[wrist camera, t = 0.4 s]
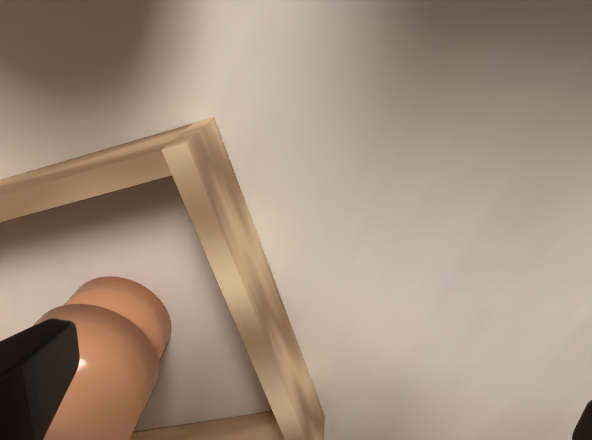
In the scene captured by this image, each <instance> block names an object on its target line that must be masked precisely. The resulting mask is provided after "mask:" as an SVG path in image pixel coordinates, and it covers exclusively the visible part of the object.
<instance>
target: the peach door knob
mask: <svg viewBox="0 0 592 440" xmlns="http://www.w3.org/2000/svg"><path fill="white" fill-rule="evenodd" d="M51 318H56V319H63V320H70V321H72V322H74V323H75V325H76V328H77V336H78V345H79V354H80V361H79V366H78V369H77V371H76V374H75V376H74V378H73V380H72V382H71V384H70V386H69V388H68V390H67V392H66V394H65V396H64V398H63V400H62V402H61V404H60V406H59V408H58V410H57V412H56V414H55V416H54V419H53V421H52V423H51V425H50V427H49V429H48V431H47V433H46V435H45V437H44V439H43V440H129V439H130V437H131V435H132V433H133V431H134V429H135V427H136V425H137V423H138V421H139V418H140V416H141V414H142V412H143V410H144V408H145V406H146V404H147V402H148V400H149V398H150V396H151V394H152V391H153V389H154V387H155V385H156V383H157V381H158V377H159V359H160V357H161V355H162V353H163V351H164V349H165V347H166V345H167V343H168V341H169V339H170V336H171V320H170V316H169V314H168V312H167V310H166V308H165V306H164V305H163V303H162V302H161V301H160V299H159V298H158V297H157V296H156V295H155V294H153V293H152V292H151V291H150V290H148V289H147V288H146V287H144V286H142V285H140V284H139V283H136V282H134V281H131V280H128V279H125V278H120V277H100V278H96V279H93V280H90V281H88V282H86V283H85V284H83V285H82V286H81V287H80V288H79V289H78V290H77V291H76V292H75V293H74V294H73V295H72V296H71V298H70V299H69V300H68V301H67V302H66V303H65V304H64V305H63V306H60V307H56V308H54V309H52V310H50V311H48V312H47V313H45V314H44V315H43V316H42V317H41V318H40V319H39V320H38V321H37V322H36V323H35V324H34V325H36V324H39V323H41V322H43V321H45V320H47V319H51ZM34 325H33V326H34Z"/></svg>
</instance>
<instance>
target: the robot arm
mask: <svg viewBox="0 0 592 440" xmlns="http://www.w3.org/2000/svg"><path fill="white" fill-rule="evenodd" d="M79 361H80V354H79V345H78V336H77V328H76V325H75V323H74V322H72V321H70V320H63V319H56V318H51V319H47V320H45V321H43V322H41V323H39V324H36V325H34V326H32V327H30V328H28V329H26V330H24V331H21V332H19V333H17V334H15V335H13V336H11V337H9V338H7V339H4V340H2V341H0V440H43V439H44V437H45V435H46V433H47V431H48V429H49V427H50V425H51V423H52V421H53V419H54V416H55V414H56V412H57V410H58V408H59V406H60V404H61V402H62V400H63V398H64V396H65V394H66V392H67V390H68V388H69V386H70V384H71V382H72V380H73V378H74V376H75V374H76V371H77V369H78V366H79ZM572 440H592V400H591V401H589V402H588V404H587V405H586V407H585V409H584V411H583V413H582V415H581V417H580V419H579V421H578V423H577V425H576V427H575V429H574V432H573V436H572Z"/></svg>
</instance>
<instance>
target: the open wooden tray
mask: <svg viewBox="0 0 592 440" xmlns="http://www.w3.org/2000/svg"><path fill="white" fill-rule="evenodd" d="M171 175H172V176H173V179H174V181H175V183H176V186H177V188H178V190H179V193H180V195H181V197H182V200H183V202H184V204H185V207H186V209H187V211H188V214H189V216H190V218H191V221H192V223H193V226H194V228H195V230H196V233H197V235H198V237H199V240H200V242H201V244H202V247H203V249H204V251H205V254H206V256H207V258H208V261H209V263H210V265H211V268H212V270H213V272H214V275H215V277H216V280H217V282H218V284H219V287H220V289H221V291H222V294H223V296H224V298H225V301H226V303H227V305H228V308H229V310H230V312H231V315H232V317H233V319H234V322H235V324H236V326H237V329H238V331H239V334H240V336H241V338H242V341H243V343H244V345H245V348H246V350H247V352H248V355H249V357H250V359H251V362H252V364H253V366H254V369H255V371H256V373H257V376H258V378H259V380H260V383H261V385H262V388H263V390H264V392H265V395H266V397H267V399H268V402H269V404H270V406H271V409H272V411H270V412H264V413H257V414H251V415H245V416H238V417H232V418H225V419H219V420H212V421H206V422H200V423H193V424H187V425H180V426H174V427H167V428H161V429H155V430H148V431H142V432H135V433H132V435H131V437H130V439H129V440H324V418H325V416H324V414H323V411H322V408H321V405H320V403H319V400H318V397H317V395H316V392H315V389H314V387H313V384H312V381H311V378H310V376H309V373H308V370H307V368H306V365H305V362H304V359H303V357H302V354H301V351H300V349H299V346H298V343H297V341H296V338H295V335H294V332H293V330H292V327H291V324H290V322H289V319H288V316H287V314H286V311H285V308H284V305H283V303H282V300H281V297H280V295H279V292H278V289H277V287H276V284H275V281H274V278H273V276H272V273H271V270H270V268H269V265H268V262H267V260H266V257H265V254H264V251H263V249H262V246H261V243H260V241H259V238H258V235H257V233H256V230H255V227H254V224H253V222H252V219H251V216H250V214H249V211H248V208H247V205H246V203H245V200H244V197H243V195H242V192H241V189H240V187H239V184H238V181H237V178H236V176H235V173H234V170H233V168H232V165H231V162H230V160H229V157H228V154H227V151H226V149H225V146H224V143H223V141H222V138H221V135H220V133H219V130H218V127H217V124H216V122H215V119H214V117H213V118H210V119H207V120H203V121H200V122H196V123H193V124H190V125H186V126H183V127H179V128H176V129H173V130H169V131H166V132H162V133H159V134H156V135H152V136H149V137H145V138H142V139H139V140H135V141H132V142H128V143H125V144H122V145H118V146H115V147H111V148H108V149H105V150H101V151H98V152H94V153H91V154H88V155H84V156H81V157H77V158H74V159H71V160H67V161H64V162H60V163H57V164H54V165H50V166H47V167H43V168H40V169H37V170H33V171H30V172H26V173H23V174H20V175H16V176H13V177H9V178H6V179H3V180H0V222H3V221H6V220H10V219H14V218H17V217H21V216H25V215H28V214H32V213H36V212H39V211H43V210H47V209H50V208H54V207H58V206H61V205H65V204H69V203H72V202H76V201H80V200H83V199H87V198H91V197H94V196H98V195H102V194H105V193H109V192H113V191H116V190H120V189H124V188H127V187H131V186H135V185H138V184H142V183H146V182H149V181H153V180H157V179H160V178H164V177H168V176H171Z"/></svg>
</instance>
